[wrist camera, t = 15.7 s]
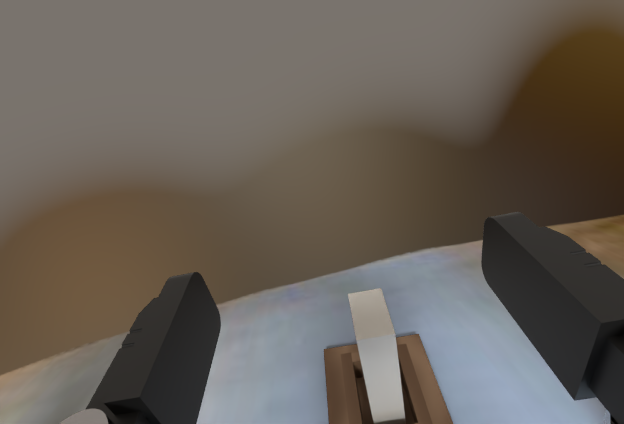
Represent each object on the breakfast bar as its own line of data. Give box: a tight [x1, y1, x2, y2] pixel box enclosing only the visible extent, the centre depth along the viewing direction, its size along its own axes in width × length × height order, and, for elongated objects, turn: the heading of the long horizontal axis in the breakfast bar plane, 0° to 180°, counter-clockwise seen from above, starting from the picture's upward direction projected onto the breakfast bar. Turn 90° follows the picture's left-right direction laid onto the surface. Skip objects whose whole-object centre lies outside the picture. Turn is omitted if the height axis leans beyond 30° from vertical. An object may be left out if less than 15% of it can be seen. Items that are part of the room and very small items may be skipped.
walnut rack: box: [324, 334, 453, 424], centre depth 33 cm, size 12×16×4 cm
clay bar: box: [348, 288, 406, 424], centre depth 30 cm, size 3×5×14 cm, turn 2°
